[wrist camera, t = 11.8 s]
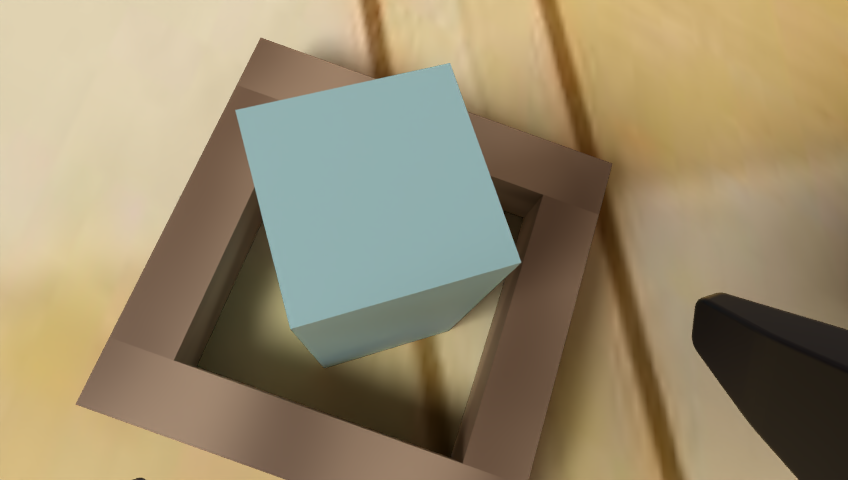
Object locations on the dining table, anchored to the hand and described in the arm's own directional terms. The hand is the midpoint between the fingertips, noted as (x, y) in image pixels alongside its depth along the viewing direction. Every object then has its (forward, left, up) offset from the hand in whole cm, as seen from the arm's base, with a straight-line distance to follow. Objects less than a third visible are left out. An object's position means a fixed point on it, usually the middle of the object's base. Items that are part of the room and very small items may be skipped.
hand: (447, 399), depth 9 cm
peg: (+2, -3, -11) cm, 12 cm away
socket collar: (+2, -3, -11) cm, 12 cm away
